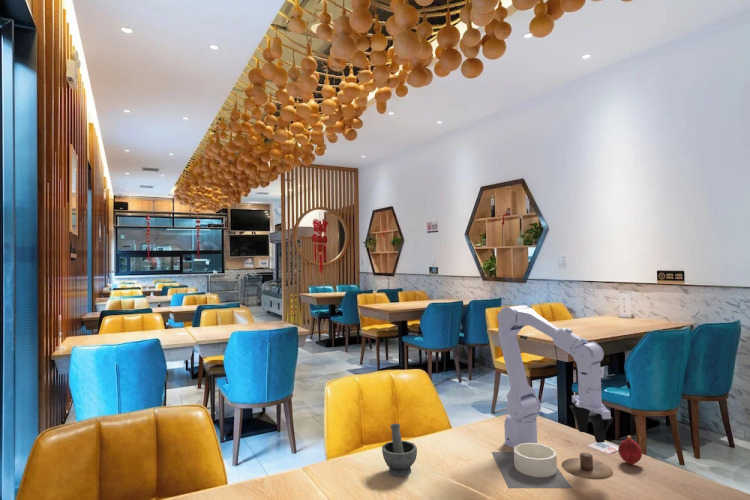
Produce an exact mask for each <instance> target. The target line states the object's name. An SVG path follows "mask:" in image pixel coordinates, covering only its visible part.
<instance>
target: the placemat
mask: <svg viewBox="0 0 750 500" xmlns="http://www.w3.org/2000/svg"><path fill="white" fill-rule="evenodd" d="M491 454H492V456H493V459H494V461H495V463H496V465H497V467H498V469H499V471H500V473H501V475H502V477H503V479H504V481H505V483H506V486H507V488H508V489H573V487H572V485H571V484H570V483H569V481H568V480H567V478H565V476H564V474H562V472H561V471H560V470H559V468H558V467H557V473H556V474H555V475H553V476H551V477H545V478H538V477H531V476H527V475H524V474H522V473H520V472H518V471H517V470H516V468H515V466H514V451H491Z"/></svg>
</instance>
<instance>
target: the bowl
mask: <svg viewBox="0 0 750 500" xmlns="http://www.w3.org/2000/svg"><path fill="white" fill-rule="evenodd" d="M537 443H538V442H537ZM537 443H522V444H519V445H517V446H514V448H513V452H514V466H515V468H516V470H517V471H518V472H520V473H522V474H524V475H527V476H531V477H538V478H545V477H551V476H553V475H555V474H556V473H557V468H558V465H557V463H558V462H557V461H558V460H557V459H558V458H557V450H555V449H554V448H552V447H551V446H549V445H546V444H545V445H544V444H542V443H539V444H537Z"/></svg>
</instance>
